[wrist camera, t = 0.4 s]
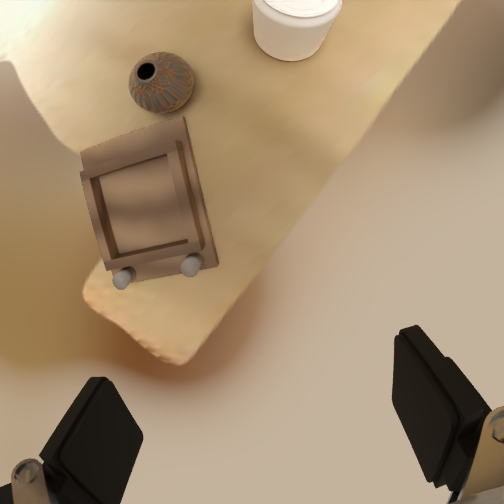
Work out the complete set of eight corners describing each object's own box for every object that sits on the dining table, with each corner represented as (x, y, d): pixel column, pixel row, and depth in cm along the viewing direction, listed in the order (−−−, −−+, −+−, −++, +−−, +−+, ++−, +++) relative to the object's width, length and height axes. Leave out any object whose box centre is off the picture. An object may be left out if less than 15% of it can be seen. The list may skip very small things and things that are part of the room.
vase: (180, 126, 34) (157, 116, 25) (134, 104, 33) (101, 91, 24) (209, 76, 32) (195, 52, 23) (161, 56, 31) (136, 31, 22)
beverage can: (260, 66, 31) (260, 25, 20) (248, 11, 29) (244, -41, 18) (328, 60, 31) (356, 20, 19) (313, 6, 28) (332, -45, 17)
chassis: (84, 151, 34) (67, 152, 30) (184, 117, 33) (175, 112, 29) (119, 282, 39) (106, 294, 35) (218, 263, 38) (214, 275, 34)
